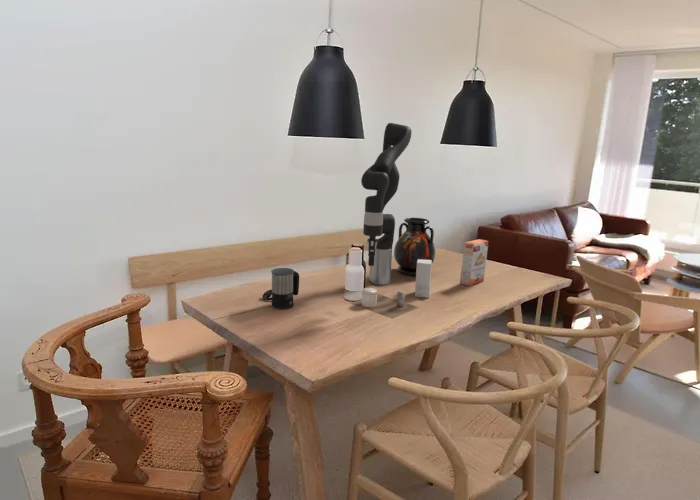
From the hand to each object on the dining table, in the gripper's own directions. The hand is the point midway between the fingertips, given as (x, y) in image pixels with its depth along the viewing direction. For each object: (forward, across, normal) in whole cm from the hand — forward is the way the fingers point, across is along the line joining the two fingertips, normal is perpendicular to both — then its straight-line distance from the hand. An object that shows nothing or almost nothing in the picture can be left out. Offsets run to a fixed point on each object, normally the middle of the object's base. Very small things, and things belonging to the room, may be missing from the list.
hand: (371, 262), depth 190 cm
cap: (+18, 0, 0) cm, 18 cm away
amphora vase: (+19, +57, -22) cm, 64 cm away
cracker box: (+19, +44, -50) cm, 70 cm away
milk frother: (+19, 0, +38) cm, 43 cm away
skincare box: (+19, +21, -23) cm, 37 cm away
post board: (+19, 0, -6) cm, 20 cm away
